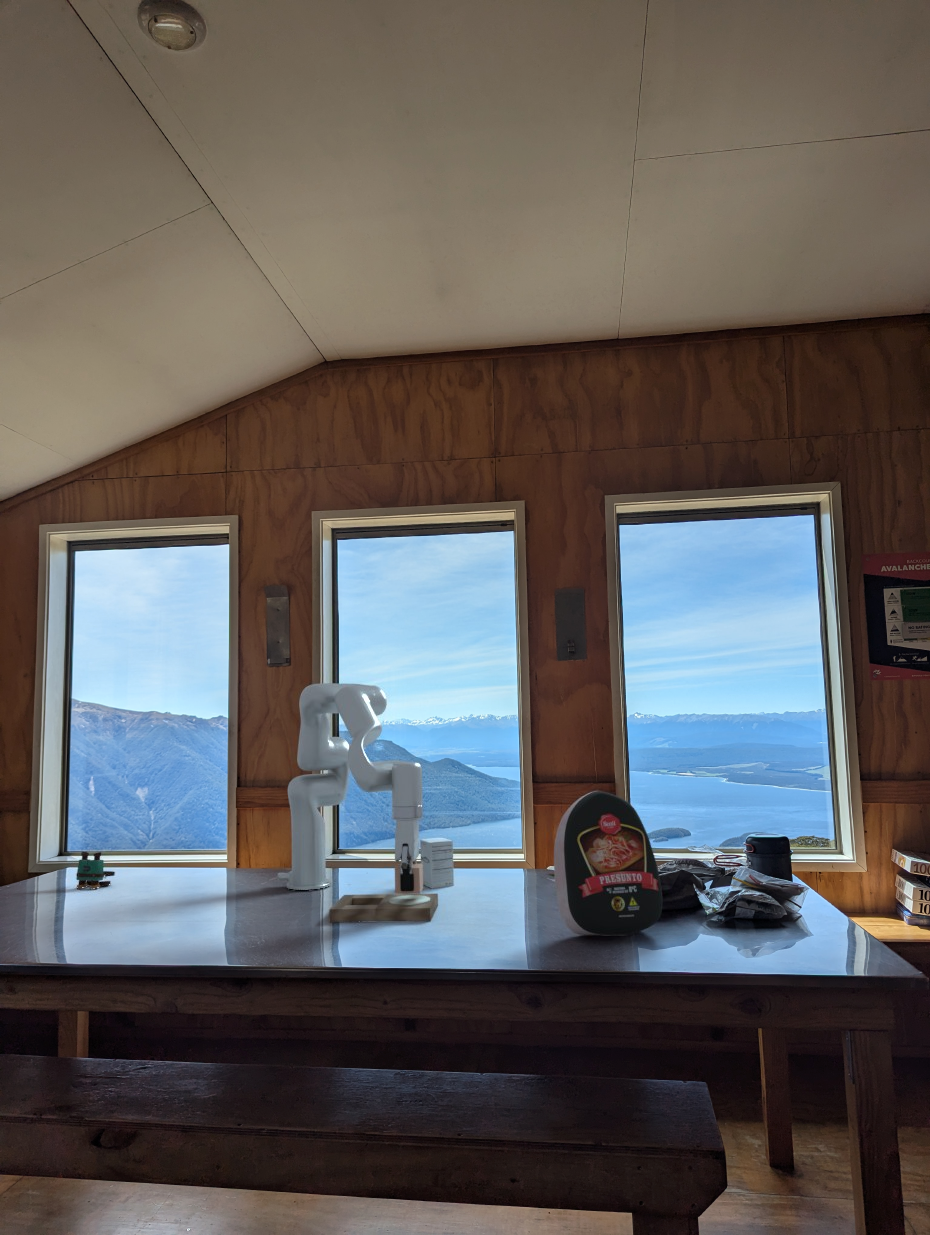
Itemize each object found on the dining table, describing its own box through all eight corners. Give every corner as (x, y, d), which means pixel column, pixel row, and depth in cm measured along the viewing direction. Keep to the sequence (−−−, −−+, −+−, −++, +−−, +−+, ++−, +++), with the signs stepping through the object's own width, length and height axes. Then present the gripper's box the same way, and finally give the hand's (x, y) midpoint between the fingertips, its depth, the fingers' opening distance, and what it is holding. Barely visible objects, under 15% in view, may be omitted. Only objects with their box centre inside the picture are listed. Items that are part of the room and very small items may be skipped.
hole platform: (329, 922, 200) (329, 908, 200) (344, 906, 216) (344, 893, 216) (430, 921, 198) (430, 906, 199) (438, 905, 214) (437, 892, 215)
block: (395, 893, 205) (394, 868, 205) (399, 888, 210) (398, 863, 211) (419, 893, 204) (419, 867, 205) (423, 888, 210) (422, 863, 211)
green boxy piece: (121, 850, 258) (98, 852, 248) (118, 887, 256) (94, 890, 246) (96, 850, 260) (73, 852, 251) (93, 886, 258) (69, 889, 249)
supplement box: (420, 884, 242) (419, 839, 243) (444, 881, 245) (443, 836, 246) (430, 888, 235) (429, 842, 237) (454, 885, 238) (453, 839, 240)
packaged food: (579, 951, 170) (572, 798, 174) (544, 928, 189) (539, 791, 192) (676, 940, 176) (668, 793, 179) (633, 919, 195) (627, 786, 198)
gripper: (398, 809, 218) (399, 881, 216) (386, 817, 201) (388, 896, 199) (427, 808, 218) (428, 880, 216) (418, 817, 201) (420, 895, 199)
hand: (409, 887), depth 207 cm, fingers closed on block, 6 cm apart
